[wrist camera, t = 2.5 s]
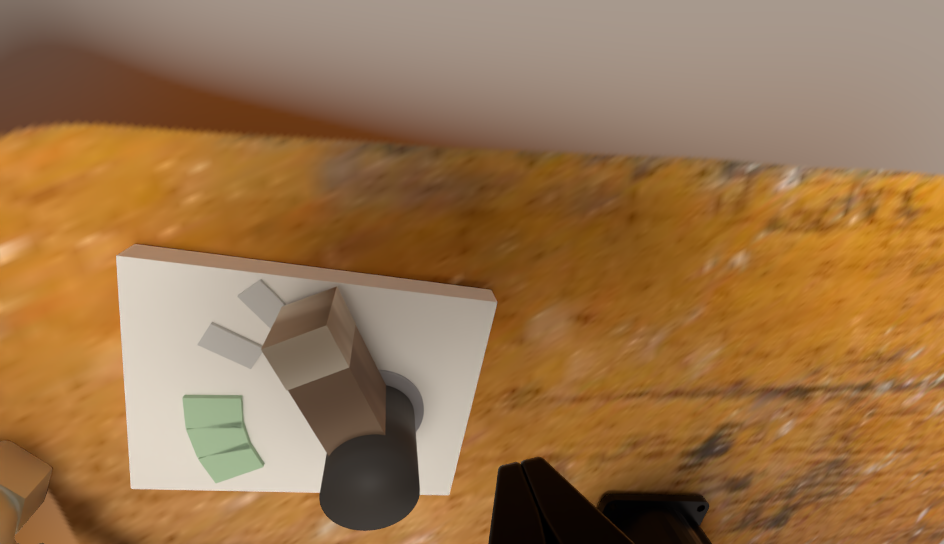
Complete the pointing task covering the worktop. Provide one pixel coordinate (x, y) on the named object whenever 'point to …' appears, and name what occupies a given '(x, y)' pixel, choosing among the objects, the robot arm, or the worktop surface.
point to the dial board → (253, 379)
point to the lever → (347, 412)
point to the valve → (19, 488)
